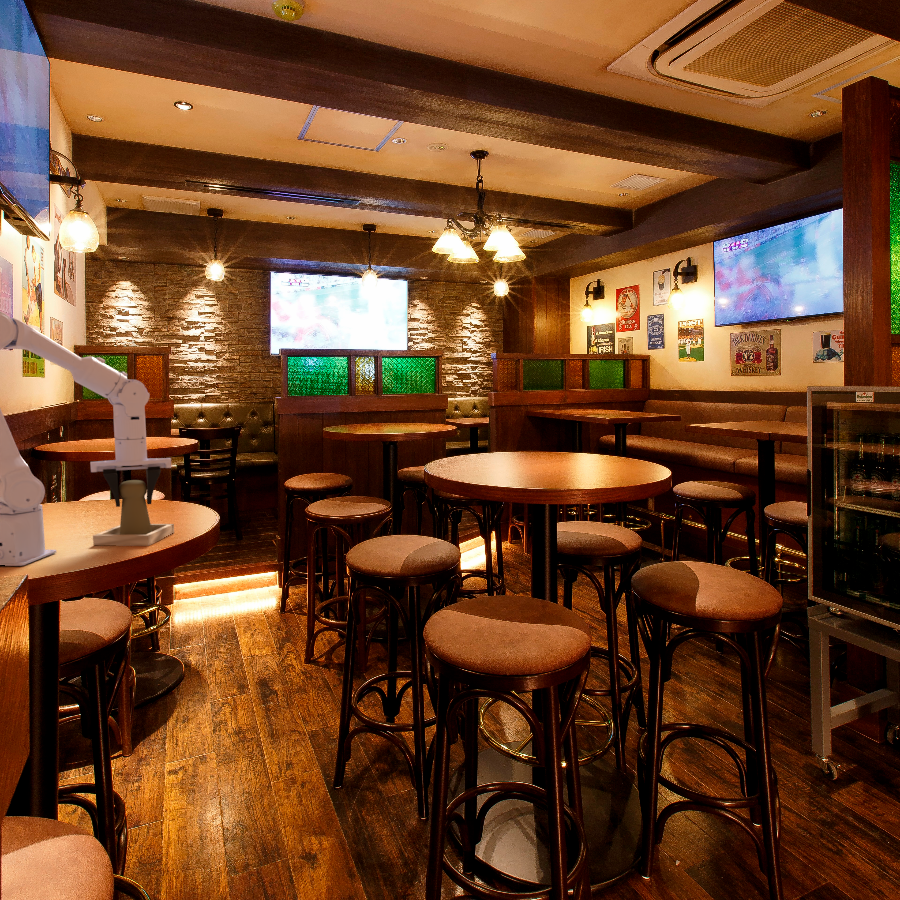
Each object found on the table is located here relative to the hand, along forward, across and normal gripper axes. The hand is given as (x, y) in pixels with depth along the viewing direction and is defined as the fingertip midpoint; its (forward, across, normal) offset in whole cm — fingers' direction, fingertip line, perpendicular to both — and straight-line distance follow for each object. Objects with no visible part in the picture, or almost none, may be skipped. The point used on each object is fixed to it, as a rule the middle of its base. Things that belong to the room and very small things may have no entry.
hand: (133, 504), depth 127 cm
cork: (+6, 0, -1) cm, 6 cm away
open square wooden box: (+7, 0, 0) cm, 7 cm away
